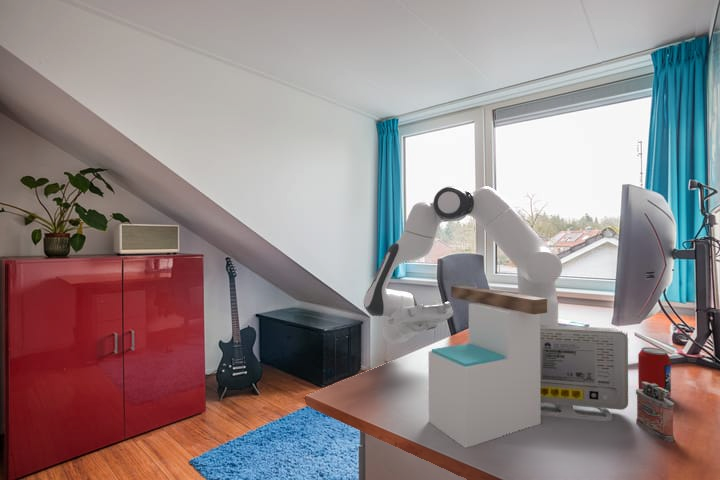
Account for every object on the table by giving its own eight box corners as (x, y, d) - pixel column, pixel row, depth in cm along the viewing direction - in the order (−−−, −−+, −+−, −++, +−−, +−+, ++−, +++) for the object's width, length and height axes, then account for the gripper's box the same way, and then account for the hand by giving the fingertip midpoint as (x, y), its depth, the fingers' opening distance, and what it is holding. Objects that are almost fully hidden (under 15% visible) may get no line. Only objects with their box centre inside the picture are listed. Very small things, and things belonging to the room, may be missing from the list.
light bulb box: (590, 352, 135) (590, 323, 135) (583, 356, 131) (583, 326, 131) (559, 346, 144) (559, 318, 144) (552, 349, 139) (552, 321, 139)
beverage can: (677, 401, 94) (676, 354, 94) (647, 399, 95) (646, 353, 95) (661, 391, 101) (660, 347, 101) (633, 389, 102) (633, 346, 102)
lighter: (631, 422, 84) (631, 378, 84) (645, 421, 84) (645, 377, 84) (664, 441, 76) (663, 392, 76) (679, 440, 76) (679, 392, 76)
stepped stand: (428, 421, 84) (428, 307, 84) (499, 402, 94) (498, 300, 94) (465, 448, 73) (464, 317, 73) (540, 423, 83) (540, 308, 83)
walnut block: (451, 297, 100) (451, 286, 100) (462, 296, 101) (462, 285, 101) (534, 314, 76) (534, 300, 76) (547, 312, 78) (547, 298, 78)
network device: (616, 406, 91) (616, 326, 91) (634, 424, 83) (633, 335, 83) (507, 397, 97) (506, 321, 97) (512, 412, 88) (512, 329, 89)
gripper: (382, 314, 116) (403, 297, 106) (435, 309, 125) (458, 293, 115) (387, 333, 114) (409, 318, 103) (440, 327, 123) (465, 312, 112)
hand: (435, 305), depth 109 cm, fingers open, 8 cm apart
